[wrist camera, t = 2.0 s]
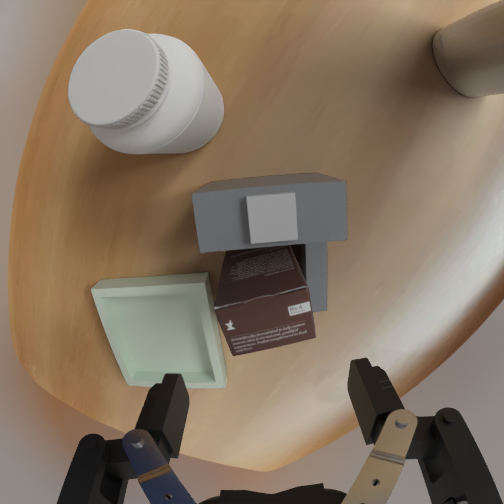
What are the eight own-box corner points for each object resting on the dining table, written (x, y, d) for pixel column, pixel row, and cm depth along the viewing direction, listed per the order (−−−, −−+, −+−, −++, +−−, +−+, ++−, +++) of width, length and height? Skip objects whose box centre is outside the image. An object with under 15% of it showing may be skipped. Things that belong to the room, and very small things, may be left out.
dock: (317, 172, 26) (348, 181, 17) (320, 296, 30) (344, 350, 21) (211, 181, 27) (189, 195, 18) (228, 305, 31) (218, 362, 22)
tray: (208, 271, 30) (204, 282, 27) (227, 373, 34) (225, 387, 32) (101, 279, 30) (90, 289, 28) (133, 372, 34) (127, 385, 32)
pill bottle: (142, 84, 23) (52, 38, 9) (222, 69, 23) (190, -10, 9) (147, 159, 26) (51, 170, 12) (228, 148, 26) (198, 139, 11)
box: (238, 284, 30) (230, 359, 19) (226, 244, 29) (208, 303, 17) (295, 271, 29) (318, 340, 18) (286, 229, 28) (307, 280, 17)
